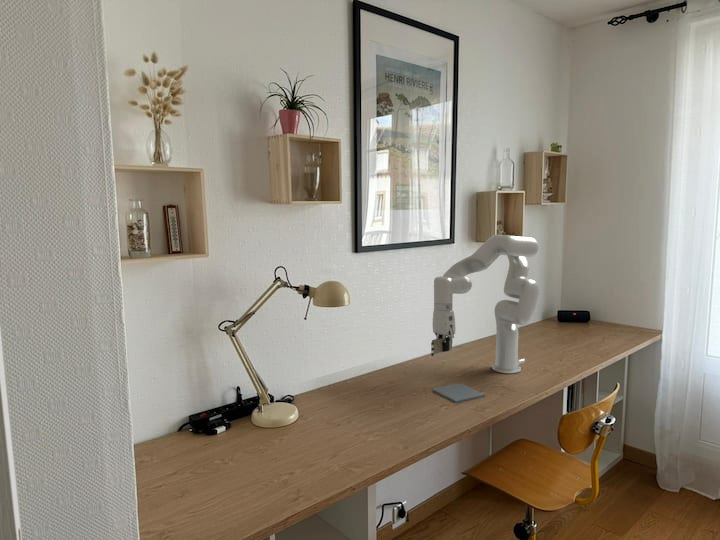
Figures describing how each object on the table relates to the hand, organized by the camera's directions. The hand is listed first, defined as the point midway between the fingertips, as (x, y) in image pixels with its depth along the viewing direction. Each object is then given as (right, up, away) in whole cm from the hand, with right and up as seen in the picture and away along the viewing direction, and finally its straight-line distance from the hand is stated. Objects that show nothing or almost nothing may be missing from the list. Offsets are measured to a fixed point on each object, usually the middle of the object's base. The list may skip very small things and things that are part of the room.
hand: (443, 349), depth 210 cm
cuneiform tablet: (-1, -1, -1) cm, 2 cm away
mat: (+4, -16, -11) cm, 19 cm away
